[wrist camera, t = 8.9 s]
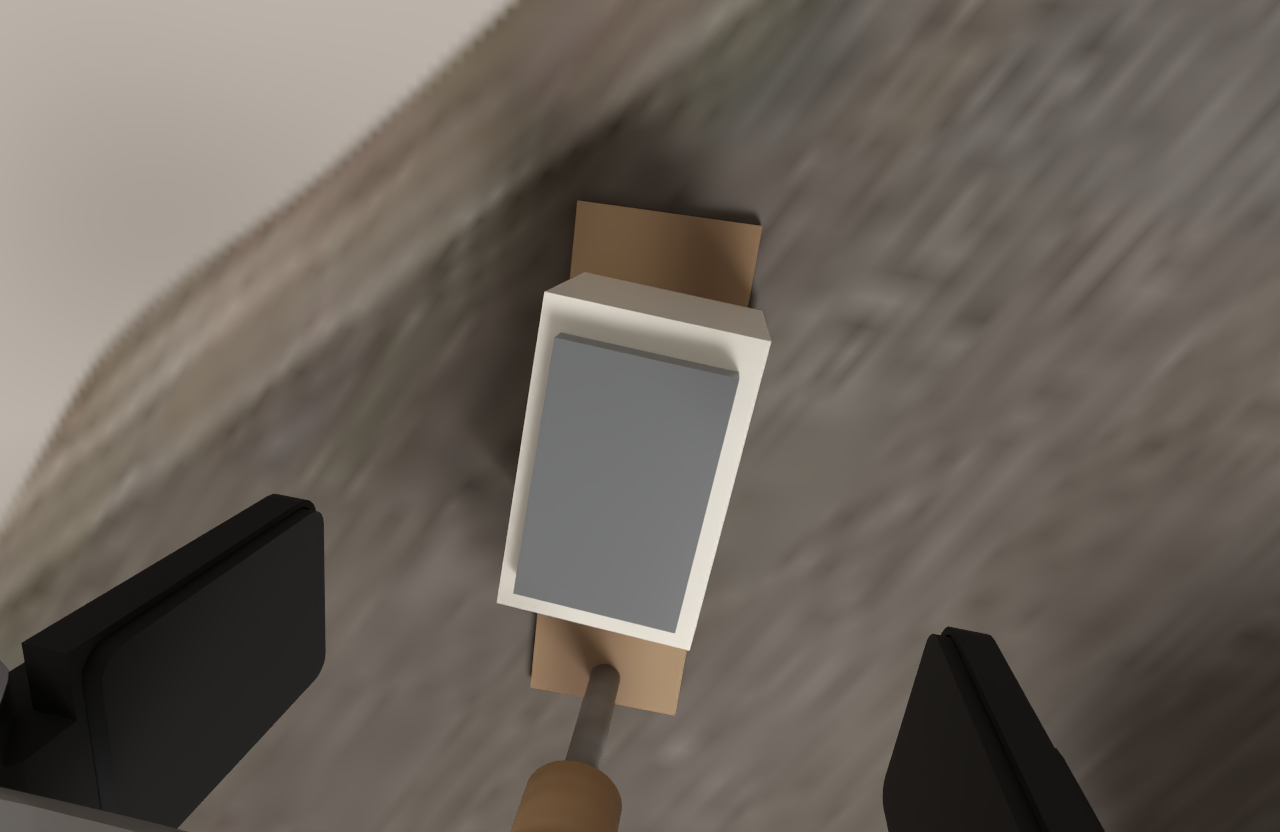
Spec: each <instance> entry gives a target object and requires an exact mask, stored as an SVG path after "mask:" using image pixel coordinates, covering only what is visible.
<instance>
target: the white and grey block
mask: <svg viewBox="0 0 1280 832" xmlns="http://www.w3.org/2000/svg"><path fill="white" fill-rule="evenodd" d="M770 344H771V339H770V336H769V332H768V329H767V326H766V322H765V319H764V316H763V312H762V311H761V310H757V309H752V308H748V307H743V306H738V305H734V304H729V303H725V302H720V301H715V300H711V299H706V298H702V297H697V296H692V295H688V294H683V293H679V292H674V291H669V290H665V289H660V288H656V287H651V286H647V285H642V284H637V283H633V282H628V281H624V280H619V279H614V278H610V277H605V276H601V275H596V274H591V273H587V272H584V273H582V274H580V275H578V276H576V277H574V278H572V279H569V280H567V281H565V282H563V283H561V284H559V285H557V286H555V287H553V288H551V289H549V290H547V291H545V292H544V298H543V304H542V311H541V317H540V324H539V330H538V337H537V343H536V350H535V357H534V363H533V370H532V376H531V383H530V389H529V396H528V402H527V409H526V415H525V422H524V428H523V435H522V442H521V448H520V455H519V461H518V468H517V474H516V481H515V487H514V494H513V500H512V507H511V513H510V520H509V527H508V533H507V540H506V546H505V553H504V559H503V566H502V572H501V579H500V585H499V592H498V599H497V603H499V604H503V605H507V606H511V607H515V608H520V609H524V610H528V611H532V612H536V613H540V614H544V615H548V616H552V617H556V618H560V619H564V620H568V621H572V622H576V623H580V624H584V625H588V626H592V627H596V628H600V629H604V630H608V631H612V632H616V633H620V634H624V635H628V636H632V637H636V638H640V639H644V640H648V641H652V642H656V643H661V644H665V645H669V646H673V647H677V648H681V649H685V650H689V651H690V647H691V644H692V640H693V636H694V632H695V628H696V625H697V621H698V617H699V613H700V610H701V606H702V602H703V598H704V594H705V591H706V587H707V583H708V579H709V575H710V572H711V568H712V564H713V560H714V557H715V553H716V549H717V545H718V541H719V538H720V534H721V530H722V526H723V522H724V519H725V515H726V511H727V507H728V503H729V500H730V496H731V492H732V488H733V485H734V481H735V477H736V473H737V469H738V466H739V462H740V458H741V454H742V450H743V447H744V443H745V439H746V435H747V432H748V428H749V424H750V420H751V416H752V413H753V409H754V405H755V401H756V397H757V394H758V390H759V386H760V382H761V378H762V375H763V371H764V367H765V363H766V360H767V356H768V352H769V348H770Z"/></svg>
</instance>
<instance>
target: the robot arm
mask: <svg viewBox="0 0 1280 832" xmlns="http://www.w3.org/2000/svg"><path fill="white" fill-rule="evenodd" d="M22 649H23V654H24V660H25V662H24V663H23V664H21V665H20V666H18V667H16V668H15V669H13V670H12V671H10V672H9V669H8V667H7V666H6V665H5V664H4V663H3V662H2V661H1V660H0V832H187V831H183V830H179V829H177V828H178V827H179V826H180V825H181V824H182V823H183V822H184V821H185V819H186V818H187V817H188V816H189V815H190V814H191V813H192V812H193V811H194V810H195V809H196V808H197V806H198V805H199V804H200V803H201V802H202V801H203V800H204V799H205V798H206V797H207V796H208V795H209V794H210V792H211V791H212V790H213V789H214V788H215V787H216V786H217V785H218V784H219V783H220V782H221V781H222V779H223V778H224V777H225V776H226V775H227V774H228V773H229V772H230V771H231V770H232V769H233V768H234V767H235V765H236V764H237V763H238V762H239V761H240V760H241V759H242V758H243V757H244V756H245V755H246V754H247V753H248V751H249V750H250V749H251V748H252V747H253V746H254V745H255V744H256V743H257V742H258V741H259V740H260V738H261V737H262V736H263V735H264V734H265V733H266V732H267V731H268V730H269V729H270V728H271V727H272V726H273V724H274V723H275V722H276V721H277V720H278V719H279V718H280V717H281V716H282V715H283V714H284V713H285V711H286V710H287V709H288V708H289V707H290V706H291V705H292V704H293V703H294V702H295V701H296V700H297V699H298V697H299V696H300V695H301V694H302V693H303V692H304V691H305V690H306V689H307V688H308V687H309V686H310V685H311V683H312V682H313V681H314V680H315V679H316V678H317V676H318V675H319V673H320V671H321V669H322V667H323V664H324V660H325V584H324V522H323V517H322V514H321V513H320V512H317V511H316V509H315V507H314V505H313V503H312V502H311V501H309V500H304V499H299V498H294V497H289V496H284V495H279V494H272V495H269V496H267V497H265V498H264V499H262V500H260V501H259V502H257V503H255V504H254V505H252V506H250V507H249V508H247V509H245V510H244V511H242V512H240V513H239V514H237V515H235V516H234V517H232V518H230V519H229V520H227V521H225V522H224V523H222V524H220V525H218V526H217V527H215V528H213V529H212V530H210V531H208V532H207V533H205V534H203V535H202V536H200V537H198V538H197V539H195V540H193V541H192V542H190V543H188V544H187V545H185V546H183V547H182V548H180V549H178V550H177V551H175V552H173V553H172V554H170V555H168V556H167V557H165V558H163V559H161V560H160V561H158V562H156V563H155V564H153V565H151V566H150V567H148V568H146V569H145V570H143V571H141V572H140V573H138V574H136V575H135V576H133V577H131V578H130V579H128V580H126V581H125V582H123V583H121V584H120V585H118V586H116V587H115V588H113V589H111V590H109V591H108V592H106V593H104V594H103V595H101V596H99V597H98V598H96V599H94V600H93V601H91V602H89V603H88V604H86V605H84V606H83V607H81V608H79V609H78V610H76V611H74V612H73V613H71V614H69V615H68V616H66V617H64V618H63V619H61V620H59V621H58V622H56V623H54V624H52V625H51V626H49V627H47V628H46V629H44V630H42V631H41V632H39V633H37V634H36V635H34V636H32V637H31V638H29V639H27V640H26V641H24V642H22ZM883 807H884V812H885V817H886V821H887V826H888V831H889V832H1105V831H1104V829H1103V827H1102V825H1101V824H1100V822H1099V820H1098V818H1097V817H1096V815H1095V813H1094V811H1093V809H1092V808H1091V806H1090V804H1089V802H1088V801H1087V799H1086V797H1085V795H1084V793H1083V792H1082V790H1081V788H1080V786H1079V785H1078V783H1077V781H1076V779H1075V777H1074V776H1073V774H1072V772H1071V770H1070V769H1069V767H1068V765H1067V763H1066V762H1065V760H1064V758H1063V757H1062V755H1061V754H1060V753H1059V751H1058V750H1057V749H1056V748H1054V746H1053V744H1052V742H1051V741H1050V739H1049V737H1048V735H1047V733H1046V732H1045V730H1044V728H1043V726H1042V725H1041V723H1040V721H1039V719H1038V717H1037V716H1036V714H1035V712H1034V710H1033V708H1032V707H1031V705H1030V703H1029V701H1028V699H1027V698H1026V696H1025V694H1024V692H1023V690H1022V689H1021V687H1020V685H1019V683H1018V681H1017V680H1016V678H1015V676H1014V674H1013V672H1012V671H1011V669H1010V667H1009V665H1008V663H1007V662H1006V660H1005V658H1004V656H1003V654H1002V653H1001V651H1000V649H999V647H998V645H997V644H996V642H995V640H994V639H993V638H992V636H991V635H988V634H983V633H978V632H973V631H968V630H963V629H958V628H953V627H947V628H945V629H944V631H943V632H942V634H941V635H936V634H932V635H930V636H929V638H928V640H927V642H926V645H925V648H924V652H923V655H922V658H921V662H920V665H919V668H918V671H917V675H916V678H915V681H914V684H913V688H912V691H911V694H910V698H909V701H908V704H907V707H906V711H905V714H904V717H903V721H902V724H901V727H900V730H899V734H898V737H897V740H896V743H895V747H894V750H893V753H892V757H891V760H890V763H889V766H888V770H887V773H886V776H885V780H884V786H883Z"/></svg>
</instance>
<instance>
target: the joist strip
mask: <svg viewBox="0 0 1280 832" xmlns="http://www.w3.org/2000/svg"><path fill="white" fill-rule="evenodd" d="M761 232H762V226H760V225H753V224H745V223H738V222H731V221H724V220H716V219H709V218H702V217H695V216H688V215H680V214H673V213H666V212H659V211H651V210H644V209H637V208H630V207H623V206H615V205H608V204H601V203H594V202H587V201H577V209H576V220H575V230H574V241H573V251H572V261H571V272H570V279H572V278H574V277H576V276H578V275H580V274H582V273H584V272H587V273H591V274H596V275H601V276H605V277H610V278H614V279H619V280H624V281H628V282H633V283H637V284H642V285H647V286H651V287H656V288H660V289H665V290H669V291H674V292H679V293H683V294H688V295H692V296H697V297H702V298H706V299H711V300H715V301H720V302H725V303H729V304H734V305H738V306H743V307H748V304H749V299H750V293H751V288H752V282H753V276H754V271H755V265H756V260H757V254H758V248H759V243H760V237H761ZM686 652H687V650H685V649H681V648H677V647H673V646H669V645H665V644H661V643H656V642H652V641H648V640H644V639H640V638H636V637H632V636H628V635H624V634H620V633H616V632H612V631H608V630H604V629H600V628H596V627H592V626H588V625H584V624H580V623H576V622H572V621H568V620H564V619H560V618H556V617H552V616H548V615H544V614H540V613H538V614H537V624H536V635H535V645H534V655H533V666H532V676H531V687H532V688H537V689H542V690H547V691H552V692H557V693H562V694H567V695H572V696H577V697H582V698H584V695H585V692H586V688H587V685H588V682H589V678H590V675H591V672H592V670H593V668H595V667H596V666H598V665H601V664H607V665H610V666H612V667H614V668H615V669H616V670H617V671H618V672H619V674H620V683H619V687H618V691H617V696H616V700H615V704H618V705H623V706H628V707H633V708H638V709H644V710H649V711H654V712H659V713H664V714H669V715H674V716H675V713H676V708H677V702H678V696H679V691H680V685H681V680H682V674H683V668H684V663H685V657H686Z"/></svg>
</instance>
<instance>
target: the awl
mask: <svg viewBox="0 0 1280 832" xmlns="http://www.w3.org/2000/svg"><path fill="white" fill-rule="evenodd" d="M619 683H620V674H619V672H618V671H617V670H616V669H615V668H614V667H612V666H610V665H607V664H601V665H598V666H596V667H595V668H593V670H592V672H591V675H590V678H589V682H588V685H587V688H586V692H585V695H584V699H583V702H582V705H581V709H580V712H579V716H578V719H577V722H576V726H575V729H574V733H573V736H572V739H571V743H570V746H569V750H568V753H567V756H566V760H564V761H556V762H551V763H548V764H546V765H544V766H542V767H540V768H539V769H537V770H536V771H535V772H534V773H533V774H532V776H531V777H530V779H529V780H528V783H527V786H526V789H525V791H524V794H523V797H522V800H521V803H520V806H519V809H518V812H517V814H516V817H515V820H514V823H513V826H512V829H511V832H618V826H619V821H620V815H621V808H622V803H621V797H620V794H619V792H618V789H617V788H616V786H615V784H614V783H613V782H612V781H611V779H610V778H609V777H608V776H606V775H605V774H604V773H603V772H601V771H600V766H601V761H602V757H603V753H604V748H605V744H606V739H607V735H608V731H609V726H610V722H611V718H612V713H613V709H614V705H615V700H616V696H617V691H618V687H619Z"/></svg>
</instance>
